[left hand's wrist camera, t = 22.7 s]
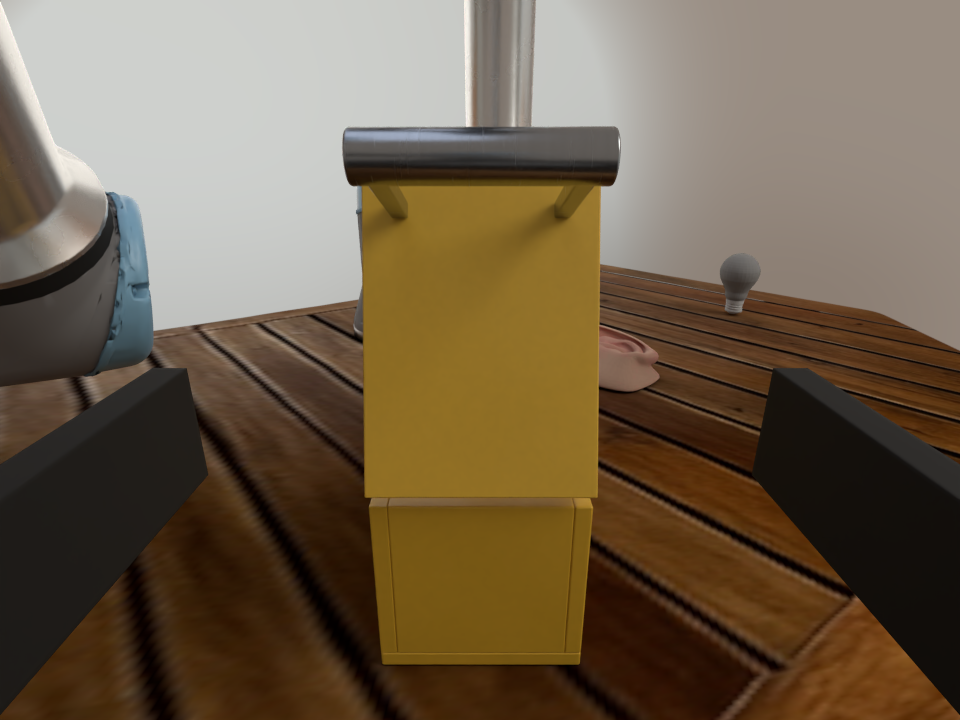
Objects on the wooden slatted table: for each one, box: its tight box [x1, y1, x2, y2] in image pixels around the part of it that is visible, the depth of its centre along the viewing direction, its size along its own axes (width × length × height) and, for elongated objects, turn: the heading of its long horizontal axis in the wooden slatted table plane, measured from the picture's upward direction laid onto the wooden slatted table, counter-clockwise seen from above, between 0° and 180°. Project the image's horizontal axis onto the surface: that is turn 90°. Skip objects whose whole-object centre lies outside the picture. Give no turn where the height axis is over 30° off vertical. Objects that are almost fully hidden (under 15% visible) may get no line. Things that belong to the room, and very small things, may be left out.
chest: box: [369, 498, 593, 665], centre depth 33 cm, size 14×10×10 cm
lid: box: [342, 127, 621, 498], centre depth 20 cm, size 15×10×9 cm
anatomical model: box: [599, 325, 660, 392], centre depth 66 cm, size 13×4×12 cm
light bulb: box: [720, 253, 760, 314], centre depth 89 cm, size 6×6×10 cm
